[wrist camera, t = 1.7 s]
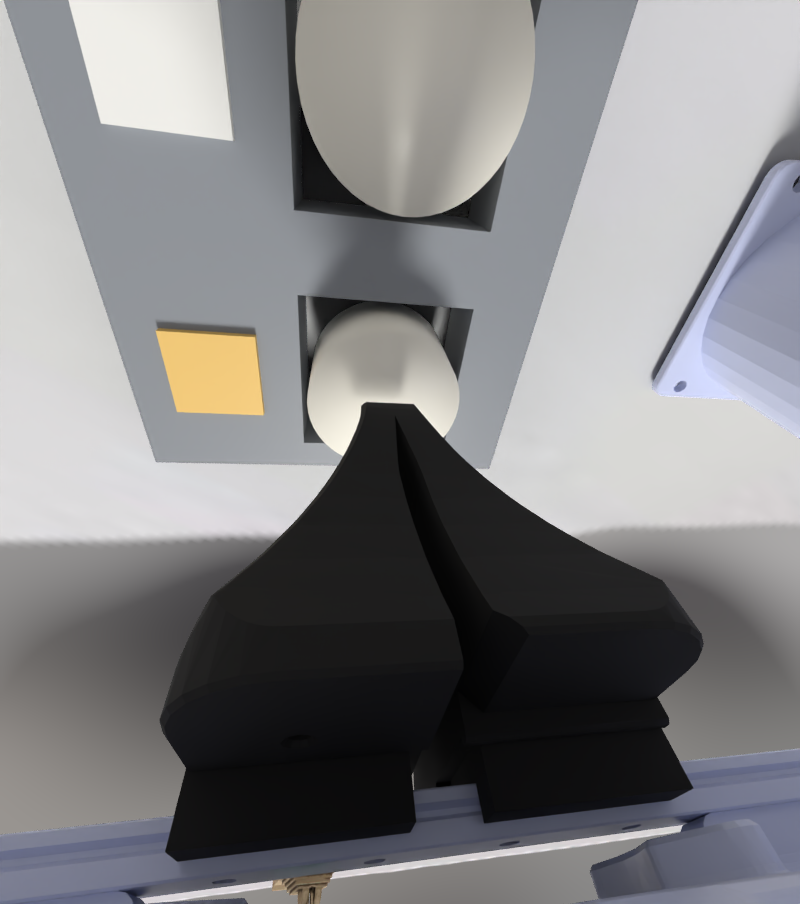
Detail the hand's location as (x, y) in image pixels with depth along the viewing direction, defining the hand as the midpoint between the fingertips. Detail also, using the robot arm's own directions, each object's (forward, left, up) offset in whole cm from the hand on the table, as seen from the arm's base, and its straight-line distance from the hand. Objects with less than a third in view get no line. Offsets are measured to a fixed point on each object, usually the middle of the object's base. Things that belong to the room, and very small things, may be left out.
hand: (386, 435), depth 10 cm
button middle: (0, -7, -4) cm, 8 cm away
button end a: (0, 0, -4) cm, 4 cm away
